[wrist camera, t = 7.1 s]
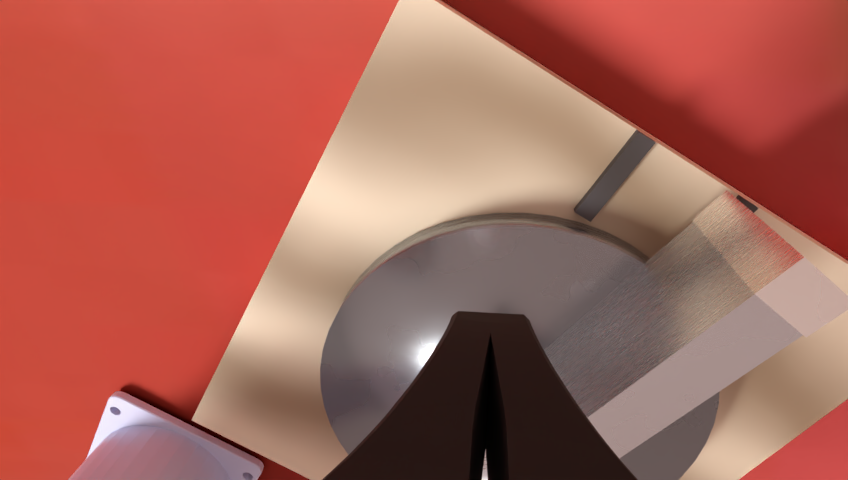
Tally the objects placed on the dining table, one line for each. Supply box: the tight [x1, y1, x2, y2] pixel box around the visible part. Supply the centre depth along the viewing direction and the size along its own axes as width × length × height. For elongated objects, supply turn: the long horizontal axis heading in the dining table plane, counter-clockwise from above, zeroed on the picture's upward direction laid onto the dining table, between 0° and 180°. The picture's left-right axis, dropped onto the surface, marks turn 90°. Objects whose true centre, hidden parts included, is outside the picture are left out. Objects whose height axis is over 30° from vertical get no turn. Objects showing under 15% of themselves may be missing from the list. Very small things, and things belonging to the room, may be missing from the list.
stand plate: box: [192, 0, 848, 480], centre depth 20 cm, size 20×20×2 cm
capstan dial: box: [320, 190, 848, 480], centre depth 17 cm, size 17×14×5 cm
